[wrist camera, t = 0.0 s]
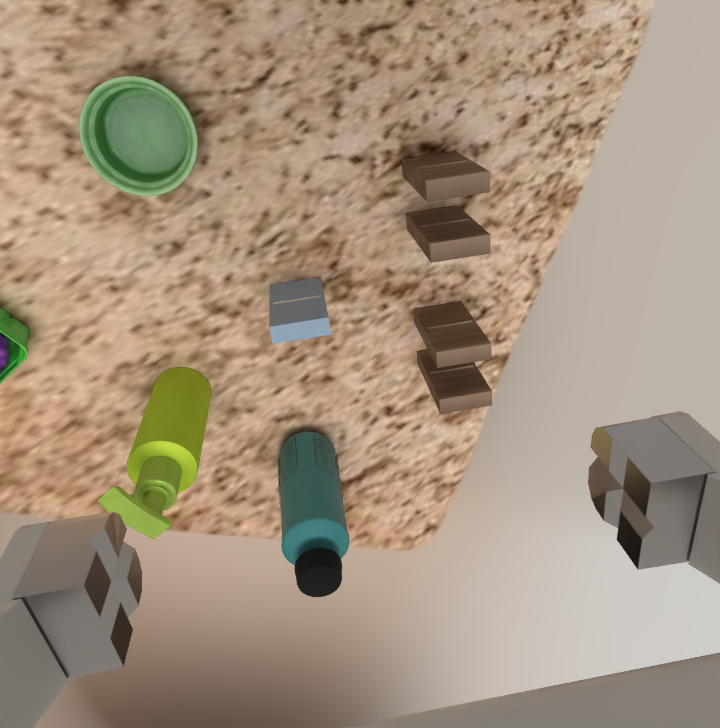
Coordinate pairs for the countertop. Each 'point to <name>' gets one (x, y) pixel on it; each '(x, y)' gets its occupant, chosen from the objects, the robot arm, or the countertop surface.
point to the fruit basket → (11, 344)
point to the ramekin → (138, 135)
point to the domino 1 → (298, 310)
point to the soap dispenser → (163, 451)
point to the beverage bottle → (312, 512)
